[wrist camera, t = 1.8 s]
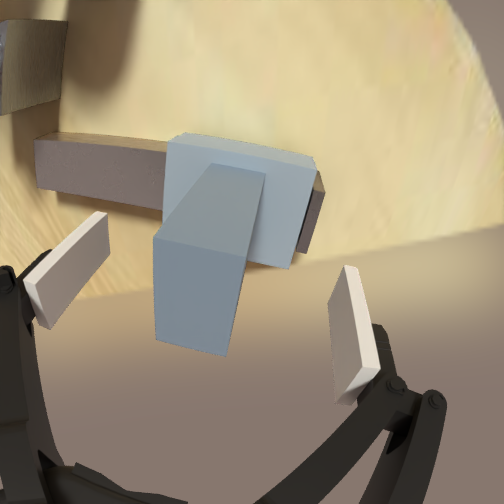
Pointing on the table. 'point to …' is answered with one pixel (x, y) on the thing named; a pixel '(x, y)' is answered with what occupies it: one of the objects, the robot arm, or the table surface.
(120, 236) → the table surface
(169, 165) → the carriage
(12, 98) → the grey cube box
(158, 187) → the rail
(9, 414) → the robot arm
